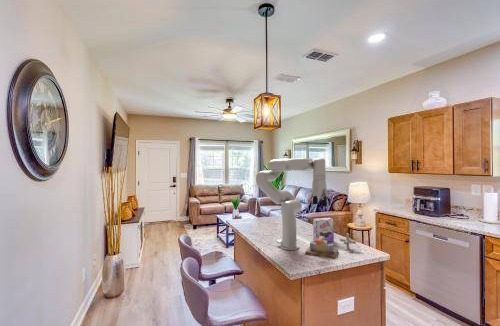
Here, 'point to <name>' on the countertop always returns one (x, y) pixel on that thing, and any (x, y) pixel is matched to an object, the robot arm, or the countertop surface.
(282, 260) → the countertop surface
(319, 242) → the lever
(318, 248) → the ball valve
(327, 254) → the board
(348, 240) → the beige crossed-rod piece
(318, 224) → the candy box
